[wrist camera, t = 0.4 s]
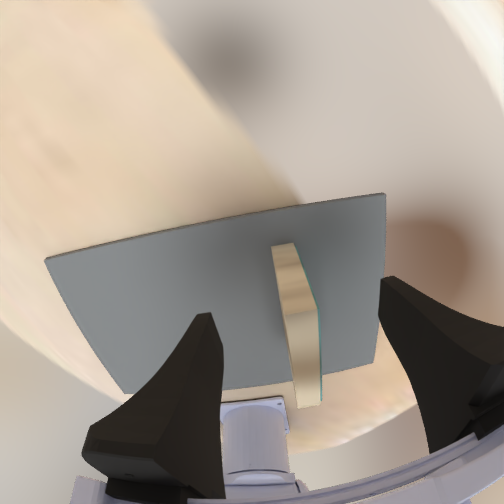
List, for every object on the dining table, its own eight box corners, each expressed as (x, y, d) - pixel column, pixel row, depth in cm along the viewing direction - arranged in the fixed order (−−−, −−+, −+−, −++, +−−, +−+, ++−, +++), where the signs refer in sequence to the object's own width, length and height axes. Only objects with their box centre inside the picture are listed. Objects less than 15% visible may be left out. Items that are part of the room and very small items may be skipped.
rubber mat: (371, 359, 28) (373, 362, 27) (125, 390, 29) (124, 393, 28) (383, 192, 19) (385, 194, 19) (46, 258, 21) (43, 260, 20)
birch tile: (305, 334, 24) (322, 404, 18) (285, 337, 25) (297, 409, 18) (295, 242, 20) (320, 308, 14) (270, 246, 20) (285, 314, 14)
